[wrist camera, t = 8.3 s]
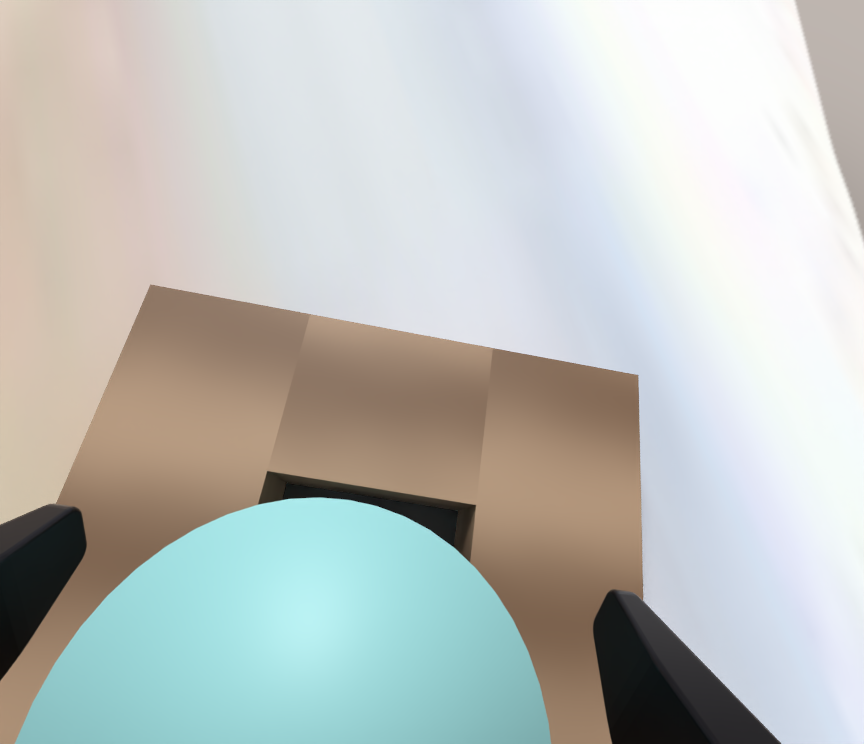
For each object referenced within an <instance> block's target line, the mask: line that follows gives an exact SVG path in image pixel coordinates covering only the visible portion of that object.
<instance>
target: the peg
mask: <svg viewBox="0 0 864 744" xmlns="http://www.w3.org/2000/svg"><path fill="white" fill-rule="evenodd" d="M15 744H551V739H550V731H549V723H548V718H547V714H546V709H545V705H544V701H543V696H542V692H541V688H540V684H539V681H538V678H537V675H536V673H535V670H534V667H533V664H532V661H531V658H530V655H529V652H528V650H527V648H526V646H525V644H524V642H523V640H522V637H521V635H520V633H519V631H518V629H517V627H516V625H515V623H514V621H513V619H512V617H511V616H510V614H509V613H508V611H507V610H506V608H505V606H504V605H503V603H502V602H501V600H500V599H499V597H498V595H497V594H496V592H495V591H494V590H493V589H492V587H491V586H490V585H489V584H488V582H487V581H486V580H485V579H484V578H483V576H482V575H481V574H480V573H479V572H478V570H477V569H476V568H475V567H474V566H473V565H472V564H471V563H470V562H469V561H468V560H467V559H466V558H464V557H463V556H462V555H461V554H460V553H459V552H458V551H457V550H456V549H455V548H454V547H453V546H451V545H450V544H448V543H447V542H446V541H444V540H443V539H442V538H440V537H439V536H437V535H436V534H435V533H433V532H432V531H430V530H429V529H427V528H425V527H423V526H421V525H420V524H418V523H416V522H414V521H412V520H410V519H408V518H406V517H405V516H402V515H400V514H397V513H394V512H391V511H389V510H386V509H383V508H381V507H378V506H374V505H370V504H365V503H360V502H356V501H351V500H344V499H332V498H319V497H318V498H299V499H286V500H281V501H275V502H270V503H264V504H259V505H255V506H252V507H249V508H246V509H243V510H240V511H236V512H233V513H230V514H227V515H225V516H223V517H220V518H218V519H216V520H214V521H211V522H209V523H207V524H205V525H203V526H200V527H198V528H196V529H194V530H193V531H191V532H189V533H188V534H186V535H184V536H183V537H181V538H179V539H178V540H176V541H174V542H173V543H171V544H169V545H168V546H166V547H165V548H163V549H162V550H161V551H159V552H158V553H157V554H155V555H154V556H153V557H151V558H150V559H149V560H147V561H146V562H145V563H143V564H142V565H141V566H139V567H138V568H137V569H136V570H134V571H133V572H132V573H131V574H130V575H129V576H128V577H127V578H126V579H125V580H124V581H123V582H122V583H121V584H120V585H118V586H117V587H116V588H115V589H114V590H113V591H112V592H111V593H110V594H109V595H108V596H107V597H106V598H105V599H104V600H103V602H102V603H101V604H100V605H99V606H98V607H97V608H96V610H95V611H94V612H93V613H92V614H91V615H90V616H89V618H88V619H87V620H86V621H85V622H84V623H83V625H82V626H81V627H80V628H79V630H78V631H77V632H76V634H75V635H74V637H73V638H72V640H71V641H70V642H69V644H68V645H67V647H66V648H65V649H64V651H63V652H62V654H61V655H60V657H59V658H58V659H57V661H56V662H55V664H54V666H53V667H52V669H51V671H50V673H49V675H48V676H47V678H46V680H45V682H44V683H43V685H42V687H41V689H40V690H39V692H38V694H37V696H36V698H35V699H34V701H33V703H32V705H31V708H30V710H29V712H28V715H27V717H26V719H25V721H24V724H23V726H22V728H21V730H20V733H19V735H18V737H17V740H16V742H15Z"/></svg>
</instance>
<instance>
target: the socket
mask: <svg viewBox="0 0 864 744" xmlns="http://www.w3.org/2000/svg"><path fill="white" fill-rule="evenodd" d="M286 483H290V484H296V485H302V486H308V487H314V488H320V489H327V490H333V491H339V492H345V493H351V494H357V495H364V496H370V497H376V498H382V499H388V500H395V501H401V502H407V503H413V504H419V505H425V506H432V507H438V508H444V509H450V510H456V511H458V516H457V524H456V532H455V541H454V548H455V549H456V550H457V551H458V552H459V553H460V554H461V555H462V556H463V557H464V558H466V559H467V560H468V561H469V562H470V563H471V564H472V565H473V566H474V567H475V568H476V569H477V570H478V572H479V573H480V574H481V575H482V576H483V578H484V579H485V580H486V581H487V582H488V584H489V585H490V586H491V587H492V589H493V590H494V591H495V592H496V594H497V595H498V597H499V599H500V600H501V602H502V603H503V605H504V606H505V608H506V610H507V611H508V613H509V614H510V616H511V617H512V619H513V621H514V623H515V625H516V627H517V629H518V631H519V633H520V635H521V637H522V640H523V642H524V644H525V646H526V648H527V650H528V652H529V655H530V658H531V661H532V664H533V667H534V670H535V673H536V675H537V678H538V681H539V684H540V688H541V692H542V696H543V701H544V705H545V709H546V714H547V718H548V723H549V731H550V739H551V744H612V741H611V737H610V733H609V728H608V722H607V717H606V711H605V705H604V699H603V693H602V686H601V680H600V674H599V668H598V662H597V655H596V649H595V643H594V637H593V622H594V619H595V616H596V614H597V612H598V610H599V608H600V606H601V604H602V602H603V600H604V598H605V596H606V594H607V593H608V591H610V590H611V589H617V590H623V591H630V592H633V593H635V594H636V595H637V596H639V597H640V598H641V599H642V600H643V574H642V527H641V481H640V434H639V388H638V375H634V374H629V373H623V372H618V371H613V370H607V369H602V368H596V367H591V366H586V365H580V364H575V363H570V362H564V361H559V360H553V359H548V358H543V357H537V356H532V355H527V354H521V353H516V352H510V351H505V350H500V349H494V348H489V347H483V346H478V345H473V344H467V343H462V342H457V341H451V340H446V339H440V338H435V337H430V336H424V335H419V334H413V333H408V332H403V331H397V330H392V329H387V328H381V327H376V326H370V325H365V324H360V323H354V322H349V321H343V320H338V319H333V318H327V317H322V316H317V315H311V314H306V313H300V312H295V311H290V310H284V309H279V308H273V307H268V306H263V305H257V304H252V303H247V302H241V301H236V300H230V299H225V298H220V297H214V296H209V295H203V294H198V293H193V292H187V291H182V290H177V289H171V288H166V287H160V286H155V285H150V287H149V290H148V292H147V294H146V296H145V299H144V301H143V303H142V306H141V308H140V310H139V313H138V315H137V317H136V320H135V322H134V324H133V327H132V329H131V331H130V334H129V336H128V338H127V341H126V343H125V345H124V347H123V350H122V352H121V354H120V357H119V359H118V361H117V364H116V366H115V368H114V371H113V373H112V375H111V378H110V380H109V382H108V385H107V387H106V389H105V392H104V394H103V396H102V398H101V401H100V403H99V405H98V408H97V410H96V412H95V415H94V417H93V419H92V422H91V424H90V426H89V429H88V431H87V433H86V436H85V438H84V440H83V443H82V445H81V447H80V449H79V452H78V454H77V456H76V459H75V461H74V463H73V466H72V468H71V470H70V473H69V475H68V477H67V480H66V482H65V484H64V487H63V489H62V491H61V494H60V496H59V498H58V500H57V503H56V504H61V505H68V506H74V507H77V508H79V509H80V511H81V512H82V516H83V522H84V528H85V534H86V540H87V548H86V552H85V555H84V557H83V559H82V561H81V562H80V564H79V565H78V567H77V568H76V570H75V572H74V573H73V575H72V576H71V578H70V579H69V581H68V582H67V584H66V586H65V587H64V589H63V590H62V592H61V593H60V595H59V596H58V598H57V600H56V601H55V603H54V604H53V606H52V607H51V609H50V610H49V612H48V613H47V615H46V617H45V618H44V620H43V621H42V623H41V624H40V626H39V627H38V629H37V631H36V632H35V634H34V635H33V637H32V638H31V640H30V641H29V643H28V644H27V646H26V647H25V649H24V650H23V652H22V653H21V654H20V656H19V657H18V658H17V660H16V661H15V663H14V664H13V665H12V667H11V668H10V669H9V671H8V672H7V673H6V675H5V676H4V677H3V678H2V680H1V681H0V744H15V742H16V740H17V737H18V735H19V733H20V730H21V728H22V726H23V724H24V721H25V719H26V717H27V715H28V712H29V710H30V708H31V705H32V703H33V701H34V699H35V698H36V696H37V694H38V692H39V690H40V689H41V687H42V685H43V683H44V682H45V680H46V678H47V676H48V675H49V673H50V671H51V669H52V667H53V666H54V664H55V662H56V661H57V659H58V658H59V657H60V655H61V654H62V652H63V651H64V649H65V648H66V647H67V645H68V644H69V642H70V641H71V640H72V638H73V637H74V635H75V634H76V632H77V631H78V630H79V628H80V627H81V626H82V625H83V623H84V622H85V621H86V620H87V619H88V618H89V616H90V615H91V614H92V613H93V612H94V611H95V610H96V608H97V607H98V606H99V605H100V604H101V603H102V602H103V600H104V599H105V598H106V597H107V596H108V595H109V594H110V593H111V592H112V591H113V590H114V589H115V588H116V587H117V586H118V585H120V584H121V583H122V582H123V581H124V580H125V579H126V578H127V577H128V576H129V575H130V574H131V573H132V572H133V571H134V570H136V569H137V568H138V567H139V566H141V565H142V564H143V563H145V562H146V561H147V560H149V559H150V558H151V557H153V556H154V555H155V554H157V553H158V552H159V551H161V550H162V549H163V548H165V547H166V546H168V545H169V544H171V543H173V542H174V541H176V540H178V539H179V538H181V537H183V536H184V535H186V534H188V533H189V532H191V531H193V530H194V529H196V528H198V527H200V526H203V525H205V524H207V523H209V522H211V521H214V520H216V519H218V518H220V517H223V516H225V515H227V514H230V513H233V512H236V511H240V510H243V509H246V508H249V507H252V506H255V505H259V504H264V503H270V502H275V501H281V500H282V498H283V494H284V491H285V487H286Z"/></svg>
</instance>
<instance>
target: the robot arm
mask: <svg viewBox="0 0 864 744" xmlns="http://www.w3.org/2000/svg"><path fill="white" fill-rule="evenodd" d="M86 548H87V540H86V534H85V528H84V522H83V516H82V512H81V511H80V509H79V508H77V507H74V506H68V505H61V504H48V505H46V506H43V507H40V508H38V509H36V510H34V511H31V512H29V513H27V514H24V515H22V516H20V517H17V518H15V519H13V520H10V521H8V522H6V523H3V524H1V525H0V681H1V680H2V678H3V677H4V676H5V675H6V673H7V672H8V671H9V669H10V668H11V667H12V665H13V664H14V663H15V661H16V660H17V658H18V657H19V656H20V654H21V653H22V652H23V650H24V649H25V647H26V646H27V644H28V643H29V641H30V640H31V638H32V637H33V635H34V634H35V632H36V631H37V629H38V627H39V626H40V624H41V623H42V621H43V620H44V618H45V617H46V615H47V613H48V612H49V610H50V609H51V607H52V606H53V604H54V603H55V601H56V600H57V598H58V596H59V595H60V593H61V592H62V590H63V589H64V587H65V586H66V584H67V582H68V581H69V579H70V578H71V576H72V575H73V573H74V572H75V570H76V568H77V567H78V565H79V564H80V562H81V561H82V559H83V557H84V555H85V552H86ZM593 637H594V643H595V649H596V655H597V662H598V668H599V674H600V680H601V686H602V693H603V699H604V705H605V711H606V717H607V722H608V728H609V733H610V737H611V741H612V744H781V743H780V742H779V741H778V740H777V739H776V737H775V736H774V735H773V734H772V733H771V732H770V731H769V730H768V729H767V728H766V727H765V726H764V725H763V724H762V723H761V722H760V721H759V720H758V719H757V718H756V717H755V716H754V715H753V714H752V713H751V712H750V711H749V710H748V709H747V708H746V707H745V706H744V705H743V703H742V702H741V701H740V700H739V699H738V698H737V697H736V696H735V695H734V694H733V693H732V692H731V691H730V690H729V689H728V688H727V687H726V686H725V685H724V684H723V683H722V682H721V681H720V680H719V679H718V678H717V677H716V676H715V675H714V674H713V673H712V672H711V670H710V669H709V668H708V667H707V666H706V665H705V664H704V663H703V662H702V661H701V660H700V659H699V658H698V657H697V656H696V655H695V654H694V653H693V652H692V651H691V650H690V649H689V648H688V647H687V646H686V645H685V644H684V643H683V642H682V641H681V640H680V639H679V638H678V636H677V635H676V634H675V633H674V632H673V631H672V630H671V629H670V628H669V627H668V626H667V625H666V624H665V623H664V622H663V621H662V620H661V619H660V618H659V617H658V616H657V615H656V614H655V613H654V612H653V611H652V610H651V609H650V608H649V607H648V606H647V605H646V604H645V602H644V601H643V600H642V599H641V598H640V597H639V596H637V595H636V594H635V593H633V592H630V591H623V590H617V589H611V590H610V591H608V593H607V594H606V596H605V598H604V600H603V602H602V604H601V606H600V608H599V610H598V612H597V614H596V616H595V619H594V622H593Z"/></svg>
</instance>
